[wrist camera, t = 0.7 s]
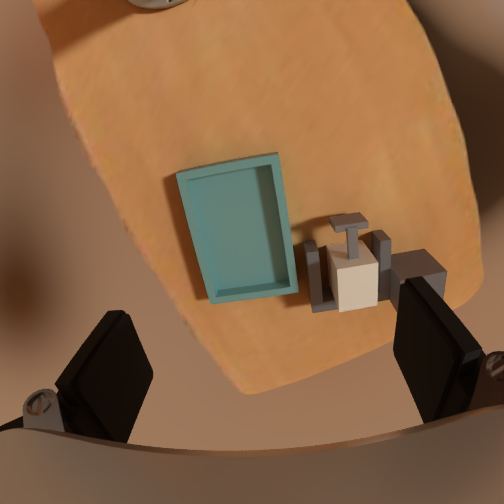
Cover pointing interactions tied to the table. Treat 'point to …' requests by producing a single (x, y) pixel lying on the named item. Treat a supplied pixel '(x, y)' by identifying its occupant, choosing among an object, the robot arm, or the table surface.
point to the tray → (240, 227)
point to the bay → (389, 272)
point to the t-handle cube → (352, 265)
